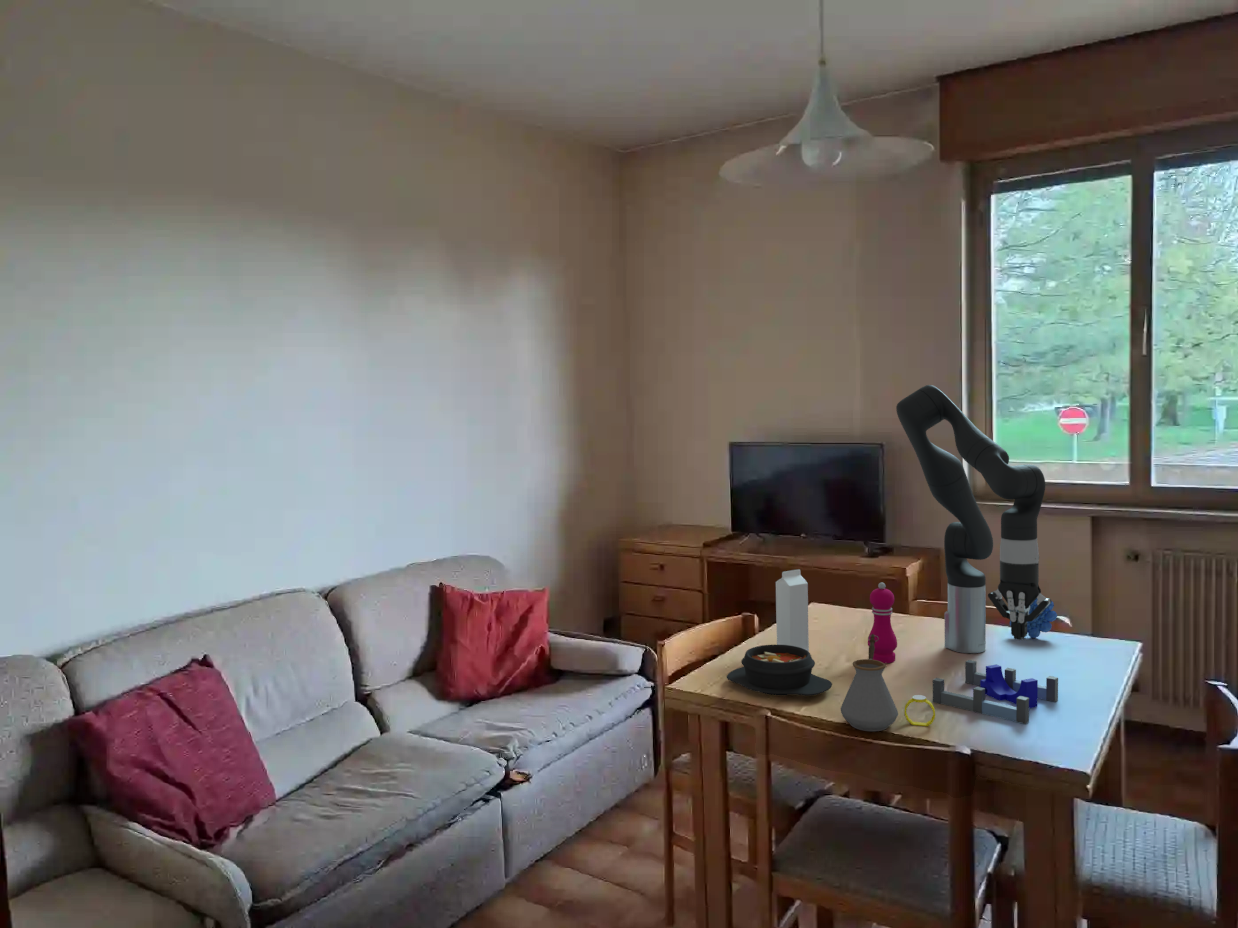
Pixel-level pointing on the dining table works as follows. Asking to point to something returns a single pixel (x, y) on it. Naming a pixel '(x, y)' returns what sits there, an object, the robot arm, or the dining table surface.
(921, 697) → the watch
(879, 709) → the coffee pot
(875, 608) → the pepper mill
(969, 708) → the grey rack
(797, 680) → the casserole
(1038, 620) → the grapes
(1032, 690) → the blue curved block
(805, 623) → the milk
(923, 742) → the dining table surface
